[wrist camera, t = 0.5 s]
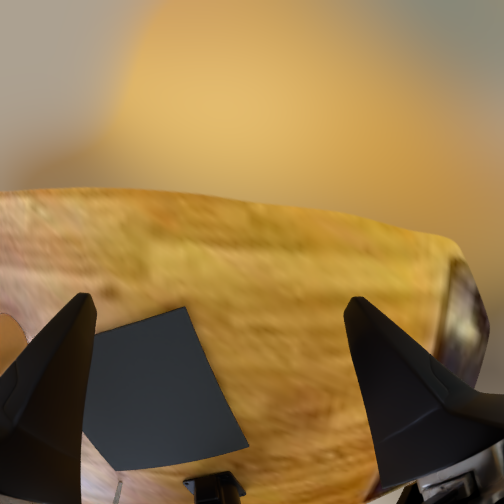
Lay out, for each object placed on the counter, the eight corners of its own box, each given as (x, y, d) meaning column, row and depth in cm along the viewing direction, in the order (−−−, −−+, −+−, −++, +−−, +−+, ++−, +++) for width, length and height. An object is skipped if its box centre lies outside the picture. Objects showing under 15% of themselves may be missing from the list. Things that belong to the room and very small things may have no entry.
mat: (248, 444, 25) (249, 446, 24) (116, 468, 22) (115, 471, 22) (185, 305, 23) (184, 307, 22) (37, 350, 20) (35, 352, 20)
